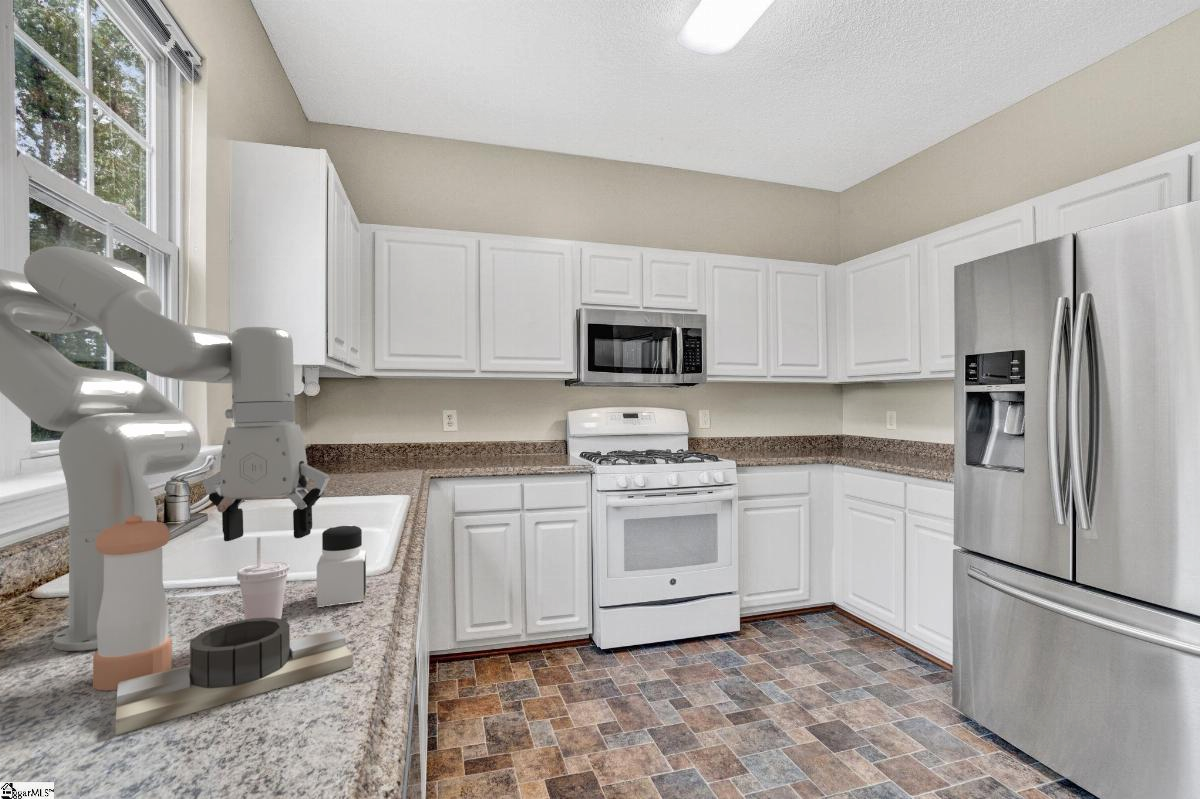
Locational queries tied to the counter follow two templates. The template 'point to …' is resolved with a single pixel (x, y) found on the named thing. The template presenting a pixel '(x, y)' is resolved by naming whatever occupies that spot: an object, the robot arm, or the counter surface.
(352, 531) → the medicine bottle
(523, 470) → the counter surface
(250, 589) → the smoothie
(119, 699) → the socket rail
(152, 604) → the pepper shaker
